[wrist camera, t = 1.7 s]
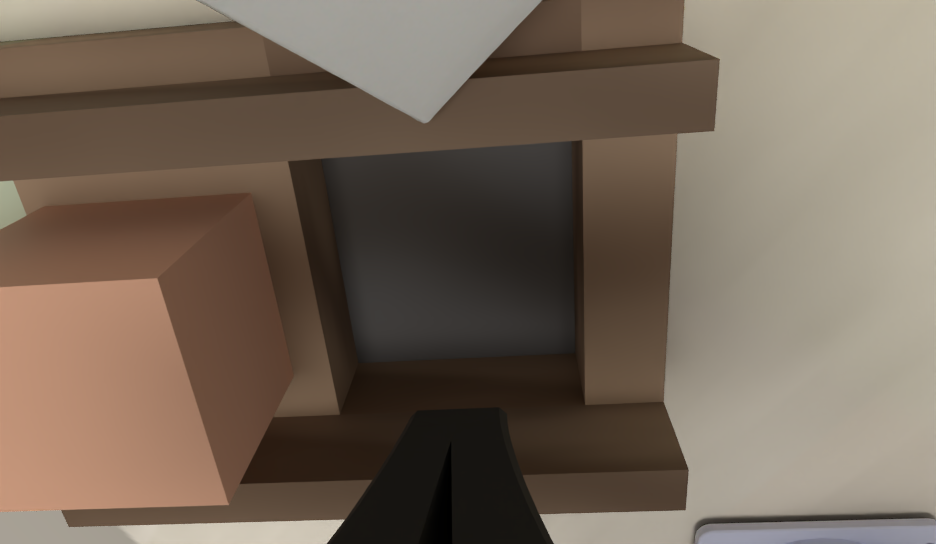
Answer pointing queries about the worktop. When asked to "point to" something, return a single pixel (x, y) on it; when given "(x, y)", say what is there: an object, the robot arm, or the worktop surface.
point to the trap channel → (408, 236)
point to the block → (135, 353)
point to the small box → (388, 41)
